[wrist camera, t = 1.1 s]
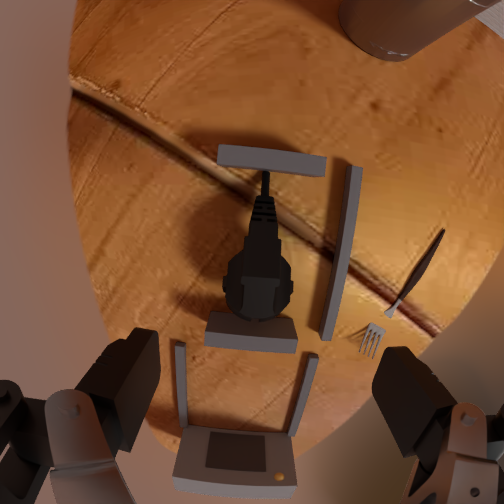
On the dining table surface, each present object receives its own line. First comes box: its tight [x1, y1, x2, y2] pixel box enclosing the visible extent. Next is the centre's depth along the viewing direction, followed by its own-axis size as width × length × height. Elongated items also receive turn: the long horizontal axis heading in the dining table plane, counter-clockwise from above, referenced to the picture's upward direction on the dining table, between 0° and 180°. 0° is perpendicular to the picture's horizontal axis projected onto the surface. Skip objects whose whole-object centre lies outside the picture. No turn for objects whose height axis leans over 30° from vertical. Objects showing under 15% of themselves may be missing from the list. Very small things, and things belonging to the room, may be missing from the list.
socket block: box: [172, 342, 319, 499], centre depth 26 cm, size 18×15×9 cm
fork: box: [359, 229, 445, 359], centre depth 26 cm, size 3×16×2 cm, turn 148°
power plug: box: [222, 171, 293, 322], centre depth 24 cm, size 6×8×12 cm
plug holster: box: [204, 144, 363, 354], centre depth 24 cm, size 17×12×4 cm
